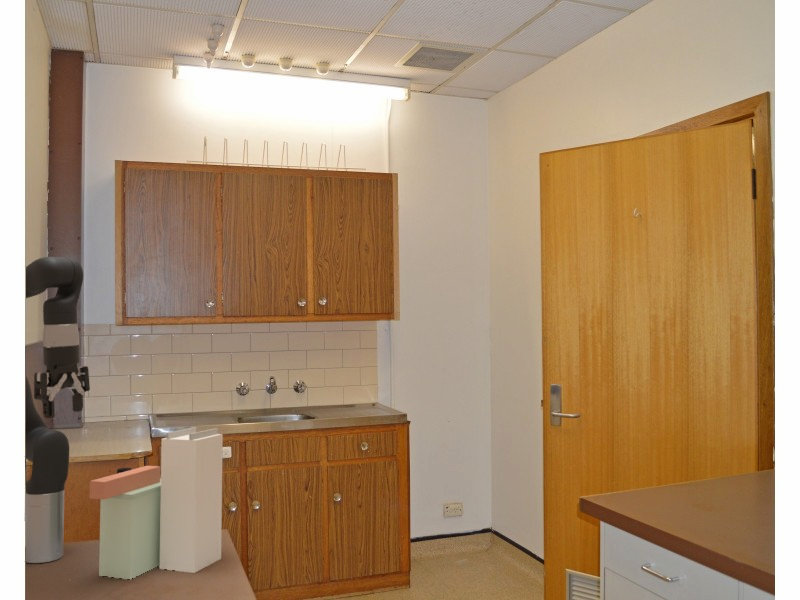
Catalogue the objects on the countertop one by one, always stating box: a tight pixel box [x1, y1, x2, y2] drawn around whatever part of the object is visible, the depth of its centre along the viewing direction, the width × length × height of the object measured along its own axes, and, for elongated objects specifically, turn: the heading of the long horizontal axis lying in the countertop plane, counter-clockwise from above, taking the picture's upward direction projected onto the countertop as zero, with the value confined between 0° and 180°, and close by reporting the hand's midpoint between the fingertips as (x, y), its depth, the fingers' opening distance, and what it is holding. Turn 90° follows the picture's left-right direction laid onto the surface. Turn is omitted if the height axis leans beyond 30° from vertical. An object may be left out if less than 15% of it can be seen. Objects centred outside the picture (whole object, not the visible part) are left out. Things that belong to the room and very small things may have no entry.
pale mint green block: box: [98, 477, 161, 581], centre depth 183 cm, size 10×20×20 cm, turn 162°
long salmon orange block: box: [89, 465, 161, 500], centre depth 178 cm, size 4×21×4 cm, turn 163°
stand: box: [158, 426, 224, 574], centre depth 185 cm, size 10×12×34 cm
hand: (63, 414), depth 167 cm, fingers open, 8 cm apart
